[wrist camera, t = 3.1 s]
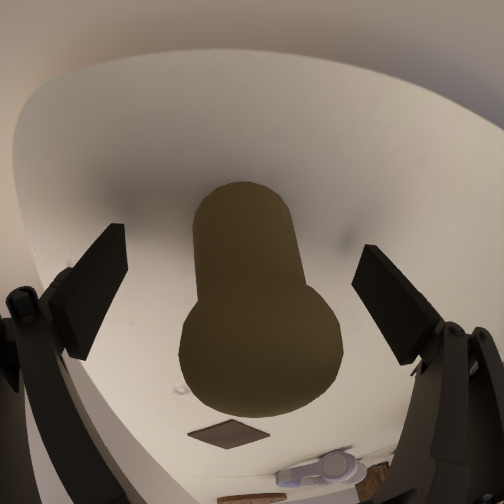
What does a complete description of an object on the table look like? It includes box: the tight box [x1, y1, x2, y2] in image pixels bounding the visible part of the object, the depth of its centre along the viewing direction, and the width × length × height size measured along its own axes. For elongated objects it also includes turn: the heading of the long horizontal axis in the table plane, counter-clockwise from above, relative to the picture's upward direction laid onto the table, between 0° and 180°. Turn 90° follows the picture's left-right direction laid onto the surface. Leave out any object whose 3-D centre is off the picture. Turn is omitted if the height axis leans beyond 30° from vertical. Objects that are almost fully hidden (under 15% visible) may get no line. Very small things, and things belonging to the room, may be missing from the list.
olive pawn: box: [178, 182, 344, 418], centre depth 12 cm, size 6×6×11 cm
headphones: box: [276, 451, 367, 487], centre depth 43 cm, size 22×7×20 cm
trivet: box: [217, 493, 287, 504], centre depth 65 cm, size 25×25×2 cm
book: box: [355, 462, 390, 503], centre depth 52 cm, size 17×7×25 cm, turn 162°
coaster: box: [188, 419, 270, 449], centre depth 30 cm, size 8×8×1 cm
